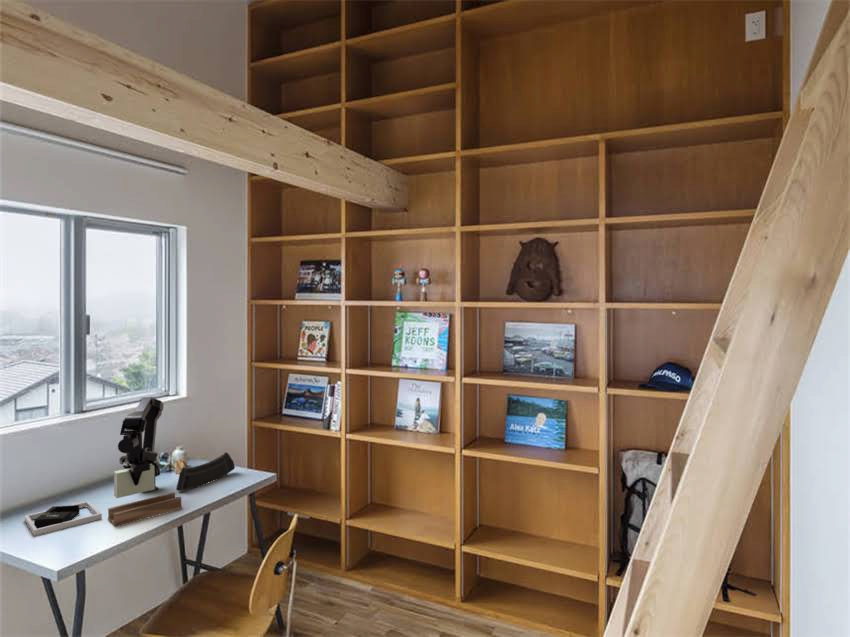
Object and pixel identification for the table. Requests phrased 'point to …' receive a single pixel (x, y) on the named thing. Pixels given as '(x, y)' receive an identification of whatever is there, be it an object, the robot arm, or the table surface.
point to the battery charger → (56, 515)
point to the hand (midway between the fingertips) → (134, 484)
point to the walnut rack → (143, 509)
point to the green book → (126, 485)
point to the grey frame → (62, 525)
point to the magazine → (205, 472)
